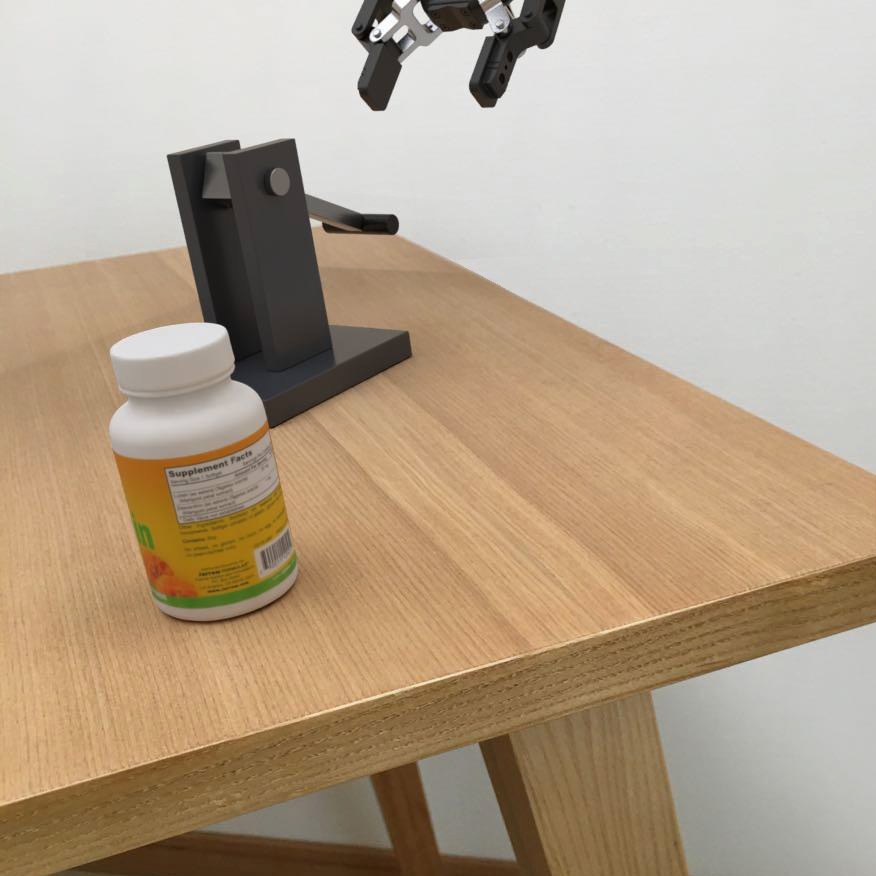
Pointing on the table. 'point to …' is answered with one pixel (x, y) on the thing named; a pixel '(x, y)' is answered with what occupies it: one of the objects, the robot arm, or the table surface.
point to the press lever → (318, 209)
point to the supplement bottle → (199, 475)
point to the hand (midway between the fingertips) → (424, 101)
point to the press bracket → (271, 280)
